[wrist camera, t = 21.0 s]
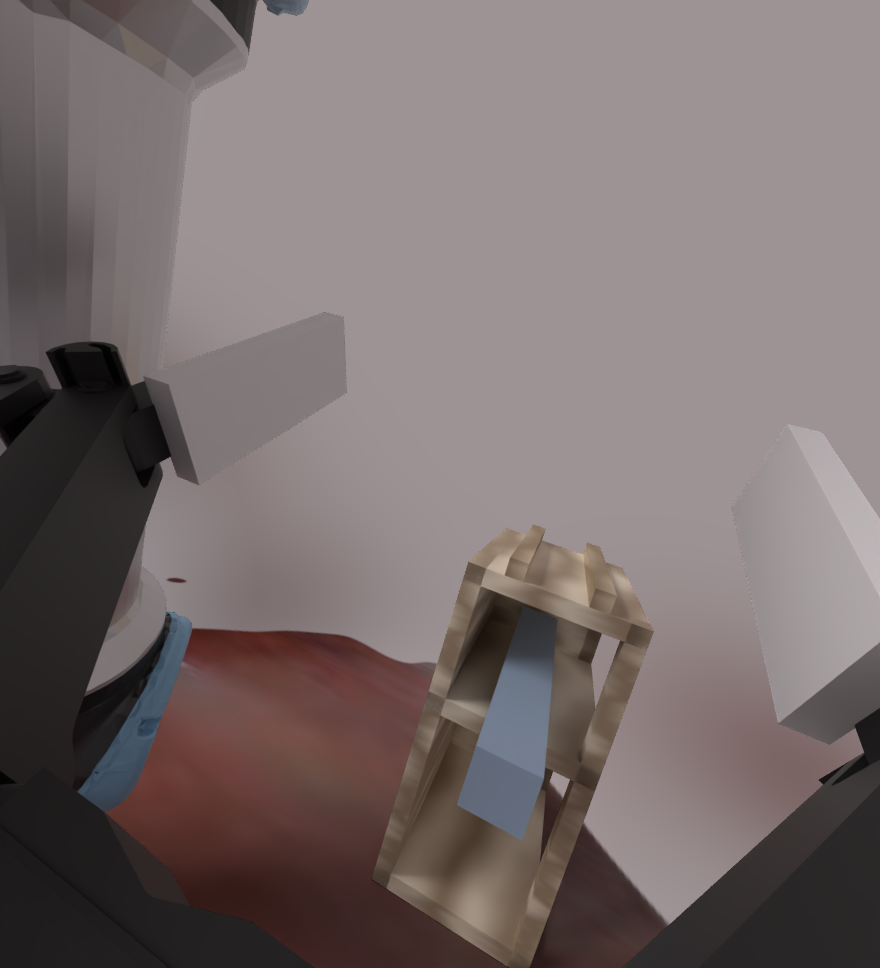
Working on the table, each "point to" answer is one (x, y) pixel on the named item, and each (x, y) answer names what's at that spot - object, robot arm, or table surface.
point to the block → (515, 731)
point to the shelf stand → (458, 723)
